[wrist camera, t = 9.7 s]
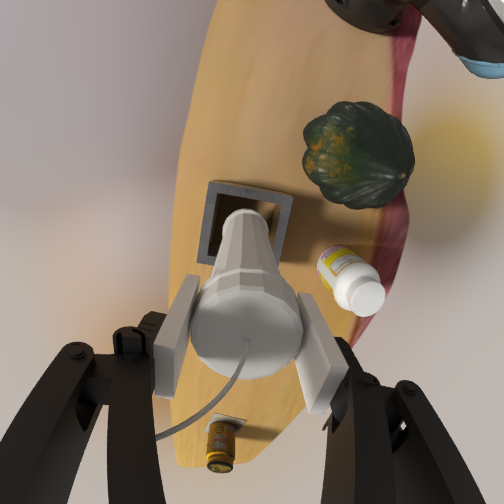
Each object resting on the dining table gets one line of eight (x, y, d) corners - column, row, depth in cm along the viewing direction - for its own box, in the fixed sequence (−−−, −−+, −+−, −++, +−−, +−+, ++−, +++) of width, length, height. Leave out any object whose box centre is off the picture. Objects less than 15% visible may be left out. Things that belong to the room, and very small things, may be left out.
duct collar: (285, 193, 39) (293, 197, 33) (271, 261, 42) (275, 275, 36) (214, 179, 38) (208, 181, 32) (202, 249, 41) (196, 262, 35)
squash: (305, 75, 29) (337, 140, 21) (402, 97, 30) (456, 166, 22) (288, 156, 41) (303, 235, 33) (372, 165, 42) (402, 238, 34)
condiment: (203, 430, 53) (199, 471, 42) (214, 412, 51) (210, 456, 40) (232, 437, 55) (232, 477, 43) (245, 419, 52) (247, 462, 41)
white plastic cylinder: (269, 246, 36) (333, 471, 7) (221, 252, 36) (166, 480, 7) (264, 204, 34) (356, 370, 6) (215, 210, 34) (100, 385, 6)
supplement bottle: (346, 287, 43) (379, 327, 31) (310, 279, 43) (335, 321, 30) (360, 249, 42) (400, 279, 29) (323, 239, 41) (355, 269, 29)
